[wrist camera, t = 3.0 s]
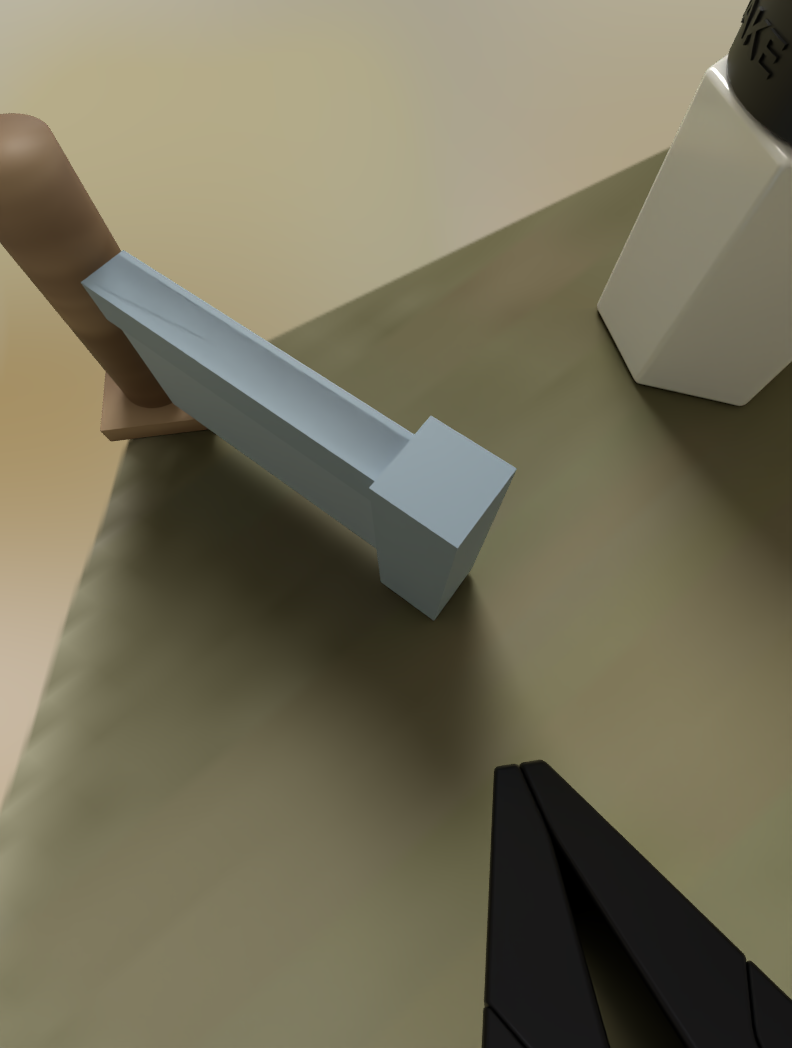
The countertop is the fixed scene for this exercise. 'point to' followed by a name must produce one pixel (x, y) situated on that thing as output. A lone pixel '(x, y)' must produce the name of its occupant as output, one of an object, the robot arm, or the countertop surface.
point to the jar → (717, 231)
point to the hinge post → (75, 272)
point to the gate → (315, 434)
